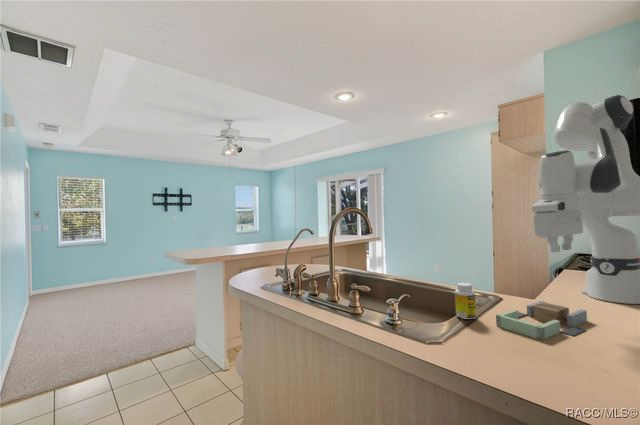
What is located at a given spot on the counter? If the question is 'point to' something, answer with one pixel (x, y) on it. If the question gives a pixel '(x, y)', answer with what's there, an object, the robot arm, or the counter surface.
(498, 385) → the counter surface
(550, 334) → the trap channel
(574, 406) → the counter surface
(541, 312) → the walnut block
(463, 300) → the supplement bottle
